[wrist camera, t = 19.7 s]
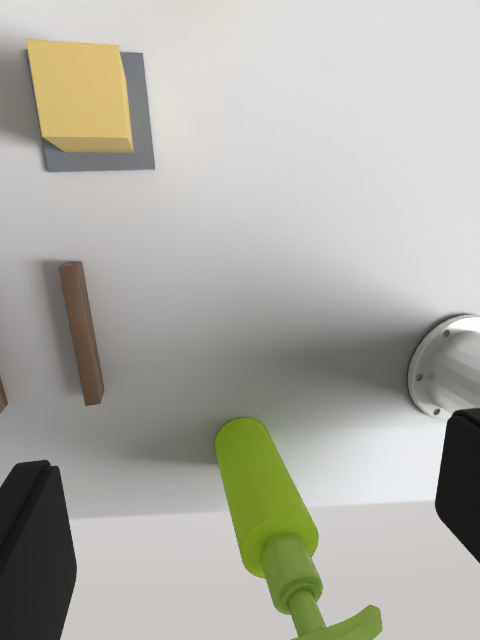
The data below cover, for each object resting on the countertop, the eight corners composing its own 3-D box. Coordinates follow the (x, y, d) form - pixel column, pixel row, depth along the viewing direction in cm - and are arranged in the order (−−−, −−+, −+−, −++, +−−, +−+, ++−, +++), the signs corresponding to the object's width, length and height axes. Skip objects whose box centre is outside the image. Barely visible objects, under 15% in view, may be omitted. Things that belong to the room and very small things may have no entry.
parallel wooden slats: (81, 261, 30) (75, 265, 28) (104, 390, 34) (100, 403, 31) (-45, 270, 29) (-63, 275, 26) (-8, 406, 32) (-21, 421, 30)
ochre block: (126, 80, 27) (117, 45, 22) (133, 152, 29) (127, 137, 23) (54, 77, 26) (25, 39, 21) (65, 152, 28) (42, 136, 22)
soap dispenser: (281, 452, 40) (390, 661, 21) (221, 472, 39) (280, 709, 20) (271, 407, 38) (382, 592, 20) (208, 427, 37) (260, 642, 19)
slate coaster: (142, 55, 27) (142, 53, 27) (155, 169, 30) (154, 168, 29) (27, 51, 26) (25, 49, 25) (49, 172, 28) (48, 171, 28)
